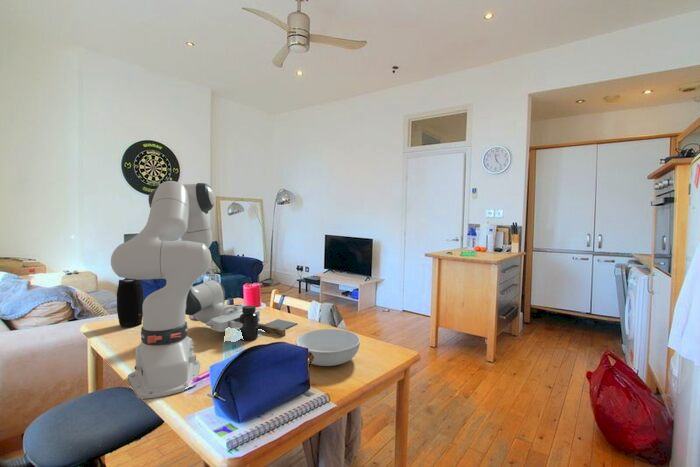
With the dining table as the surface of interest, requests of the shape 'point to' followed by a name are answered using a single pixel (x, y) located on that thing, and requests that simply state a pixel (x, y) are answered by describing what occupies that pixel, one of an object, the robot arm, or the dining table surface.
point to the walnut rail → (272, 329)
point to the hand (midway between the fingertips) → (250, 322)
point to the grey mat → (281, 324)
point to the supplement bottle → (249, 323)
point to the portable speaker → (130, 302)
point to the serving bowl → (330, 346)
